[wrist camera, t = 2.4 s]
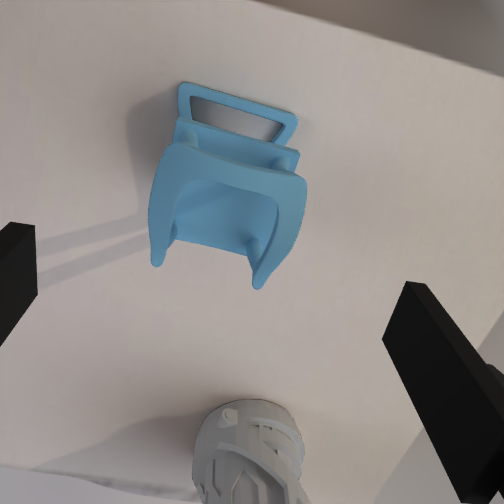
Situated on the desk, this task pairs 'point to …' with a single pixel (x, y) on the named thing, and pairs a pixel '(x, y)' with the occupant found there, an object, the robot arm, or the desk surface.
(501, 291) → the desk surface
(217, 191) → the chair
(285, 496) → the grey tall piece
